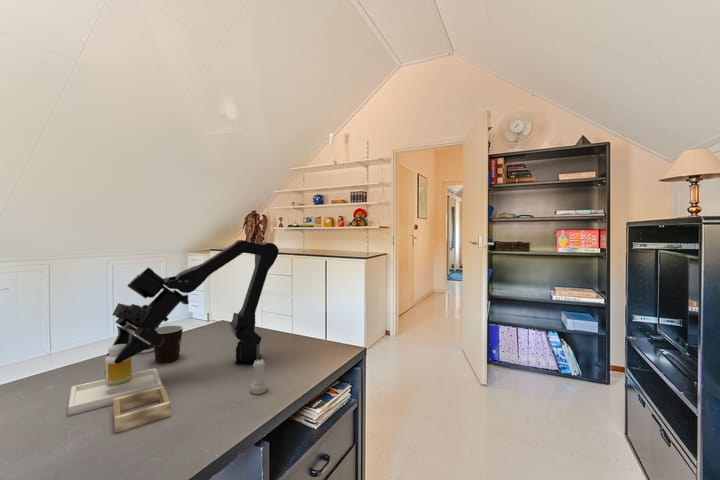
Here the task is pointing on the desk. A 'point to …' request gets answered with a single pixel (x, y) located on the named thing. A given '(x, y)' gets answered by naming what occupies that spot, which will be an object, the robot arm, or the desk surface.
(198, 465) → the desk surface
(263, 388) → the rook chess piece
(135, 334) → the robot arm
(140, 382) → the tray
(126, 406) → the holder sleeve
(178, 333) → the brown paper tapered cylinder
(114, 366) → the supplement bottle
